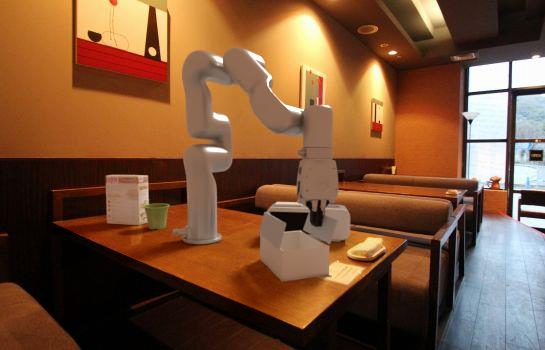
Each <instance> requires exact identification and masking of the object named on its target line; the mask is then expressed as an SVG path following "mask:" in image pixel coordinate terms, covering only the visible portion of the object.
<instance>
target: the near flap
mask: <svg viewBox="0 0 545 350" xmlns="http://www.w3.org/2000/svg"><path fill="white" fill-rule="evenodd" d="M263 212H264V213H263V215H262V221H261V223H260V228H259V232H258V235H261V236H262V237H263V238H265V239H266V240H267V241H269V242H270V243H271V244H272V245H274V246H275V247H276V248H277V249H280V246H281V242H282V239H283V235H284V231H285V227H286V223H285V222H283V221H281V220H279V219H277V218H276V217H274V216H272V215H270V214H268V213H266V212H267V211H263Z"/></svg>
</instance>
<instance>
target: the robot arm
mask: <svg viewBox="0 0 545 350" xmlns="http://www.w3.org/2000/svg"><path fill="white" fill-rule="evenodd" d="M266 69H267V67H266V63H265V61H264V59H263V58H262V56H260V55H259V54H257V53H255V52H253V51H250V50H248V49H245V48H243V47H240V46H233V47H231V48H228V49H227V50H226V51H225V52H224V54H223V56H221V55H218V54H216V53H213V52H211V51H208V50H200V49H199V50H198V49H197V50H193V51H192V52H190V53H189V54H188V55H187V56H186V58H185V59H184V62H183V64H182V69H181V80H182V86H183V92H184V96H185V97H184V99H185V119H186V130H187V134H188V135H189V137H191V138H193V139H196V140H199V141H200V140H202V141H209V143H194V144H191V145H188V147H187V148H186V149H185V150H184V152H183V156H182V157H183V165H184V171H185V177H186V194H187V195H186V196H187V197H186V198H187V201H186V202H187V208H186V211H187V215H186V216H187V224H186V225H185V227H182V228H173V229H172V236H178V237H179V236H182V241H183V242H184V243H185V244H186V243H187V244H189V245H208V244H214V243H217V242H219V241H221V240H222V236H223V235H222V234H221V233H219V232H218V204H217V203H218V202H217V201H218V196H217V195H218V192H217V191H218V190H217V183H216V180H215V177H214V175H213V173H220V172H226V171H227V170H228V169H230V167H231V166H232V163H233V158H234V157H233V156H234V154H233V152H234V150H233V132H232V131H233V130H232V124H231V122H230V119H229V118H228V116H226V115H225V114H223V113H221V112H215V111H214V108H213V97H212V93H211V90H210V88H209V86H208V85H207V82H210V83H215V84H218V85H220V86H221V85H222V86H237V85H238V87H240V88H241V90H242V91H243V92H244V93H245V95H247V96H248V101H249V104H250V105H249V106H250V108H251V111H252V112H253V114H254V115H255V116H256V118H257V119H258V120H259V122H261V123H262V124H263V125H264V126H265V128H267V130H269V131H270V132H272V133H273V134H276V135H283V136H291V137H301V136H302V147H301V149H299V150H298V151H297V155H298V156H301V158H302V159H301V160H300V161H299V166H298V171H297V176H296V177H297V178H296V196H297V200H296V202H297V203H299V204H303V205H306V206H307V207H308V209H309V210H310V223H311V225H313V226H315V227H318V226H319V227H321V226H322V219H323V211H324V210H325V208H326V207H327V205H331V204H333V203H335V202H336V201H337V198H338V196H339V175H338V174H339V173H338V168H337V167H338V166H337V163H336V162H337V161H336V160H333V143H334V142H333V138H334V136H333V134H334V132H333V131H334V111H333V108H332V107H331V106H329V105H324V104H314V105H307V106H306V107H304V108H299V107H295V106H291V105H288V104H285V103H284V102H282V101H281V100H280V98H278V97H277V96H276V94H275V93H274V92H273V90H272V88H273V85H274V79H273V77H272V75H271V74H270V73H269V72H268V71H267V70H266ZM316 204H317V205H316Z"/></svg>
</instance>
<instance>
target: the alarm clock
mask: <svg viewBox="0 0 545 350" xmlns="http://www.w3.org/2000/svg"><path fill="white" fill-rule="evenodd" d="M316 205H317V203H316ZM309 211H310V210H309V209H308V207H307V206H306V205H303V204H299V203H297V201H292V202H291V201H276V202H275V203H272V204H271V205H270V206H269V208H268V209H267V210H266V211H265V212H266V213H268V214H270V215H272V216H274V217H276V218H277V219H279V220H281V221H283V222H285V223H286V227H285V231H284V232H289V231H302V232H304V233H306V234H308V235H310V236H312V237H313V238H315V239H317V240H319V241H321V242H324V241H323V240H321V239H319V238H317V237H315V236H313V235H312V234H310V233H308V232H306V231H304V230H303V228H304V225H305V222H306V219H307V217H308V214H309ZM323 215H326V216H328V217H331V218H334V219H336V220H338V222H337V225H336V228H335V231H334V234H333V237H332V240H331V242H335V243H336V242H337V243H338V242H339V243H340V242H341V241H344V240H347V239H348V238H349V237H350V233H351V214H350V212H349V210H348V209H347V207H346V206H345V205H342V204H328V205H327V207H326V208H325V210H324V211H323Z"/></svg>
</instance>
